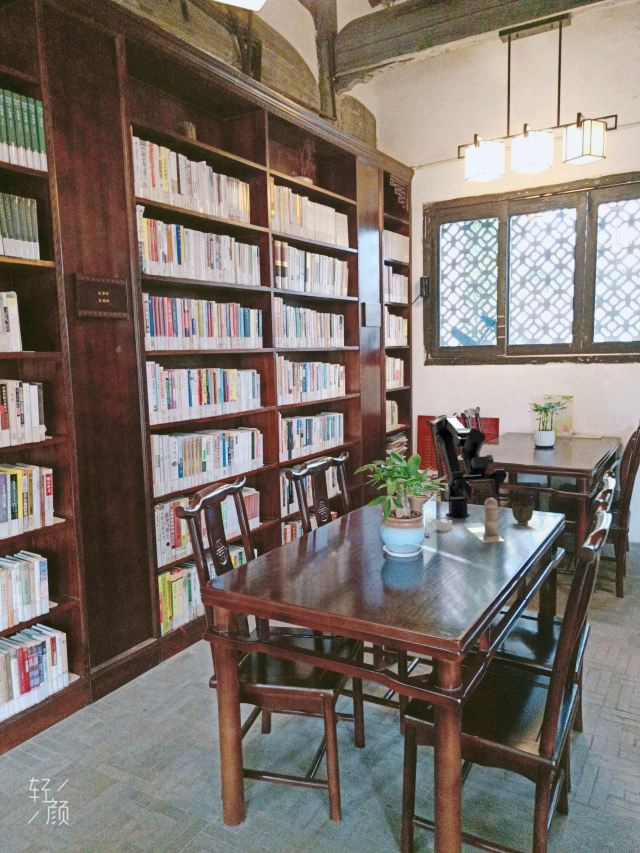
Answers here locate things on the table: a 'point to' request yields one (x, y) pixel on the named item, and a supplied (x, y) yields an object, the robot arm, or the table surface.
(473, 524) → the board
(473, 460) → the robot arm
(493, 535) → the round-topped post
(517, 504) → the cup
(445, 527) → the die
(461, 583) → the table surface
